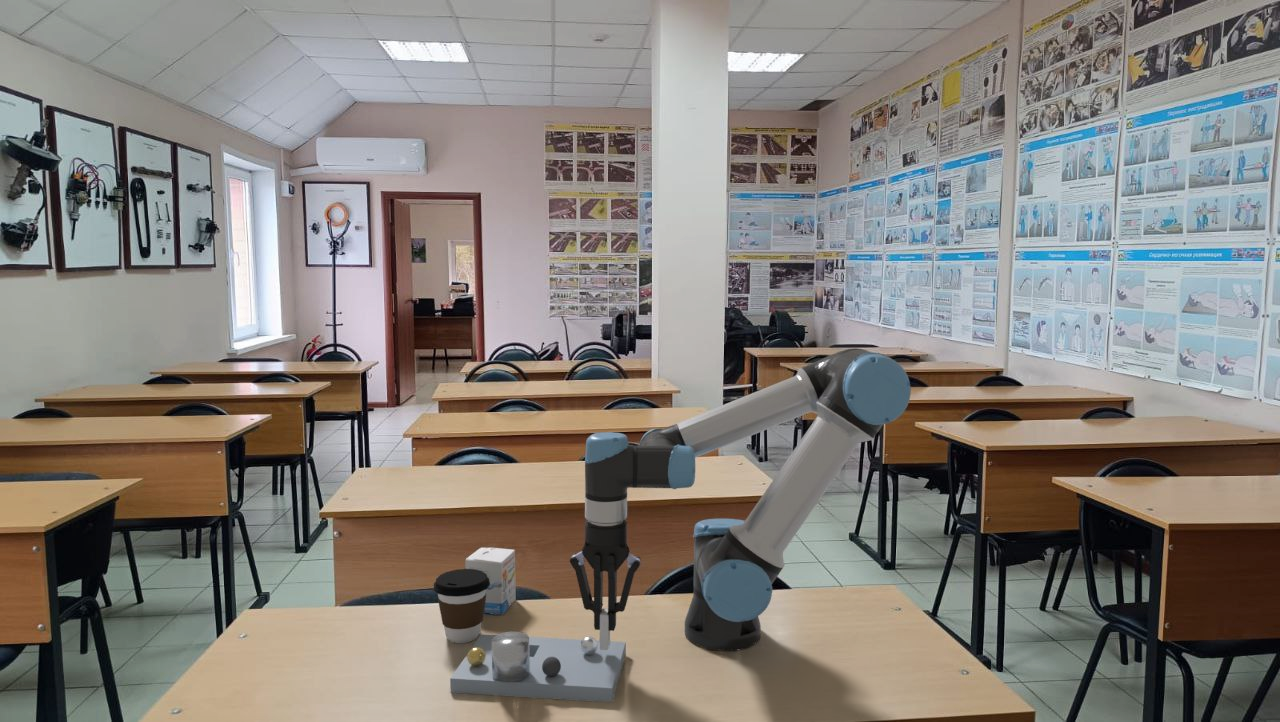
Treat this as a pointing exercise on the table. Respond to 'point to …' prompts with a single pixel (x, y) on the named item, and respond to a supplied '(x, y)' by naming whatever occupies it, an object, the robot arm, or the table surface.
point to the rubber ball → (551, 666)
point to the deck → (573, 681)
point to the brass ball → (476, 656)
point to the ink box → (496, 576)
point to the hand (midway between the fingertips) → (604, 646)
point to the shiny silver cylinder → (510, 656)
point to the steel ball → (589, 645)
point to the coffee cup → (462, 603)
